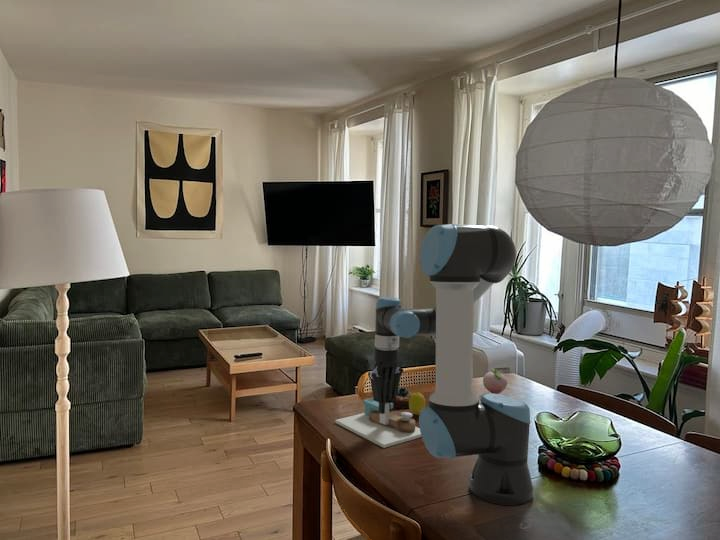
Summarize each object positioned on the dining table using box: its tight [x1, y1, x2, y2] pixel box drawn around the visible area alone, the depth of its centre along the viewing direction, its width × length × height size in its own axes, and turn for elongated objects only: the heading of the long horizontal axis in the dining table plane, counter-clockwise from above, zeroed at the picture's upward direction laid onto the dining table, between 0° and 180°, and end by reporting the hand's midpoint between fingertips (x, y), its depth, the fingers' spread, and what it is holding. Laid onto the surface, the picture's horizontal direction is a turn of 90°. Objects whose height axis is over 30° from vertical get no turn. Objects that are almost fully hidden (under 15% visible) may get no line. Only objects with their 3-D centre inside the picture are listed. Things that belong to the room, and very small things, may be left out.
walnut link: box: [369, 410, 416, 432], centre depth 180 cm, size 16×6×2 cm, turn 50°
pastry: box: [392, 387, 414, 410], centre depth 205 cm, size 11×12×6 cm
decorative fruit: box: [482, 368, 508, 394], centre depth 218 cm, size 9×8×10 cm
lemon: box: [408, 391, 426, 416], centre depth 193 cm, size 6×6×8 cm
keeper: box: [363, 397, 393, 416], centre depth 188 cm, size 8×6×6 cm
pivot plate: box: [335, 411, 422, 449], centre depth 180 cm, size 24×18×6 cm
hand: (384, 422), depth 179 cm, fingers closed
